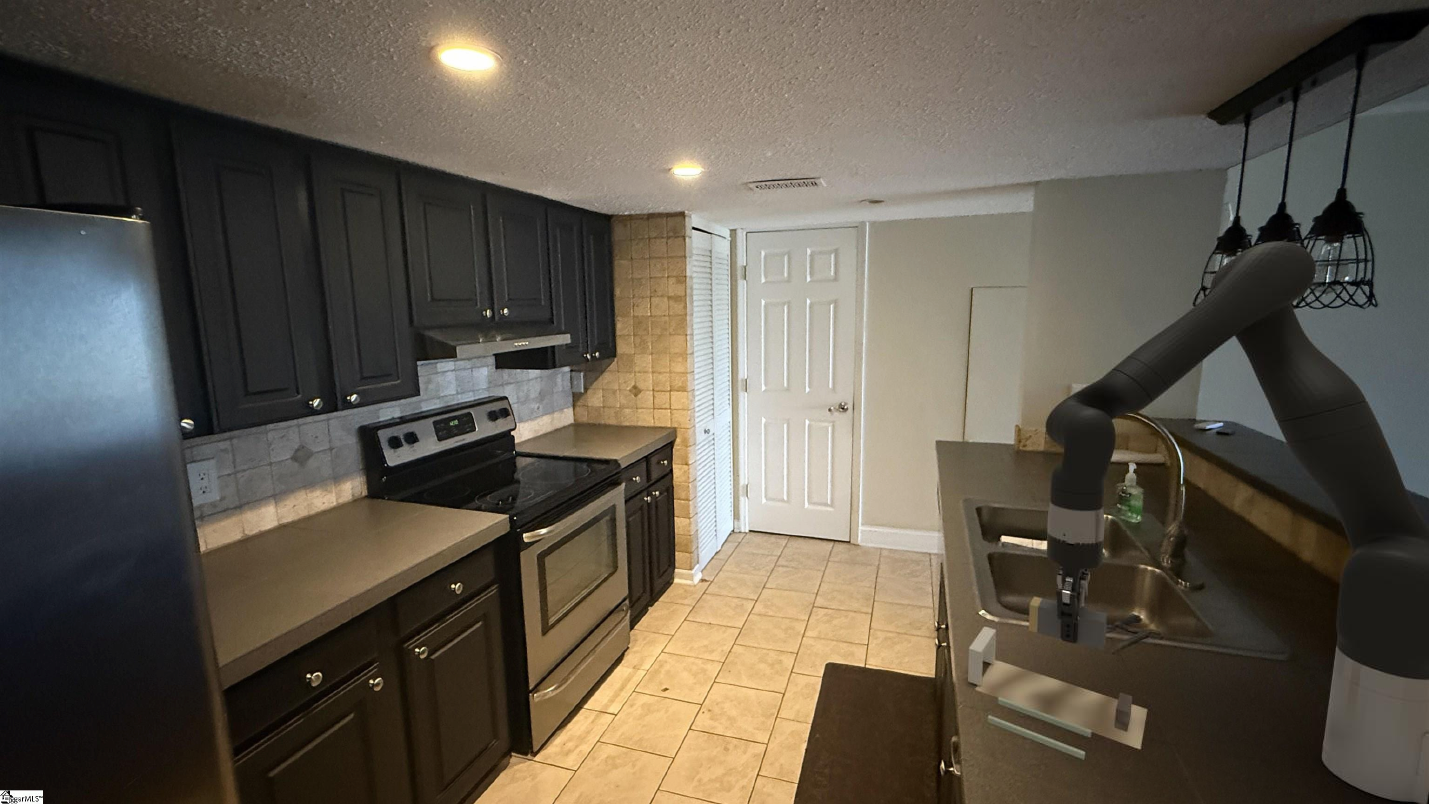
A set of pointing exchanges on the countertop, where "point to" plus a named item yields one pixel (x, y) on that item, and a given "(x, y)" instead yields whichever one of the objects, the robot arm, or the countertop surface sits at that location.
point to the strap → (981, 654)
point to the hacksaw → (1122, 624)
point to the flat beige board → (1067, 702)
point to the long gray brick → (1048, 623)
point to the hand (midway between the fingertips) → (1071, 635)
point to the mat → (1036, 736)
